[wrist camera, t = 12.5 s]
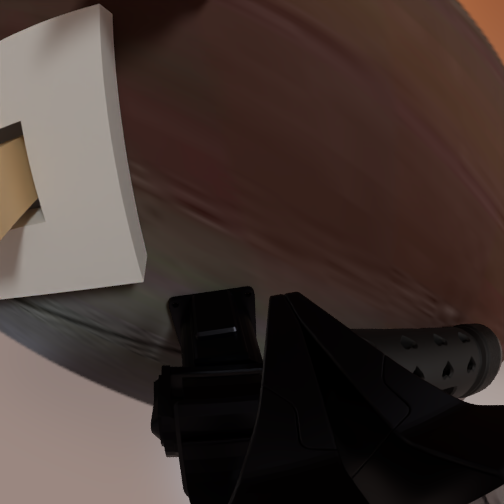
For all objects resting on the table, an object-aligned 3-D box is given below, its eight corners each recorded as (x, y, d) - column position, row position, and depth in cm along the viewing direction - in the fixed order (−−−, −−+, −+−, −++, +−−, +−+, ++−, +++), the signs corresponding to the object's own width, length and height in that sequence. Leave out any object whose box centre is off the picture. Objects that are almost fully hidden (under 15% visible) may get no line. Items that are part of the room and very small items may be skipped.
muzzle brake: (311, 294, 26) (363, 394, 17) (476, 305, 35) (519, 355, 26) (275, 365, 30) (304, 455, 22) (441, 353, 39) (475, 403, 31)
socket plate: (147, 255, 21) (143, 281, 18) (-21, 280, 18) (-35, 303, 16) (112, 14, 12) (99, 3, 10) (-74, 98, 10) (-99, 107, 7)
